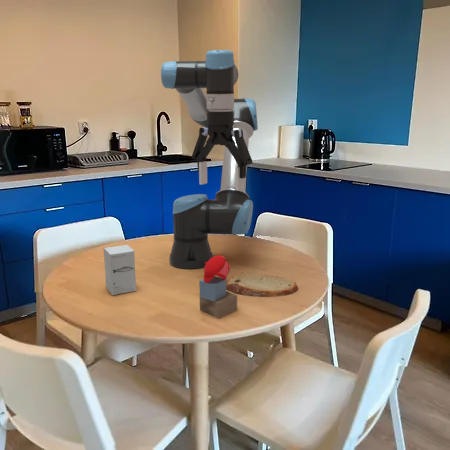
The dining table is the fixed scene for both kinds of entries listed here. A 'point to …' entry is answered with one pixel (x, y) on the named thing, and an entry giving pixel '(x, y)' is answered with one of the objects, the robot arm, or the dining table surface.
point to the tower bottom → (219, 305)
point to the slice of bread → (261, 285)
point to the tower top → (213, 289)
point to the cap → (216, 268)
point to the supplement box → (120, 269)
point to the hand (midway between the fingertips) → (221, 186)
